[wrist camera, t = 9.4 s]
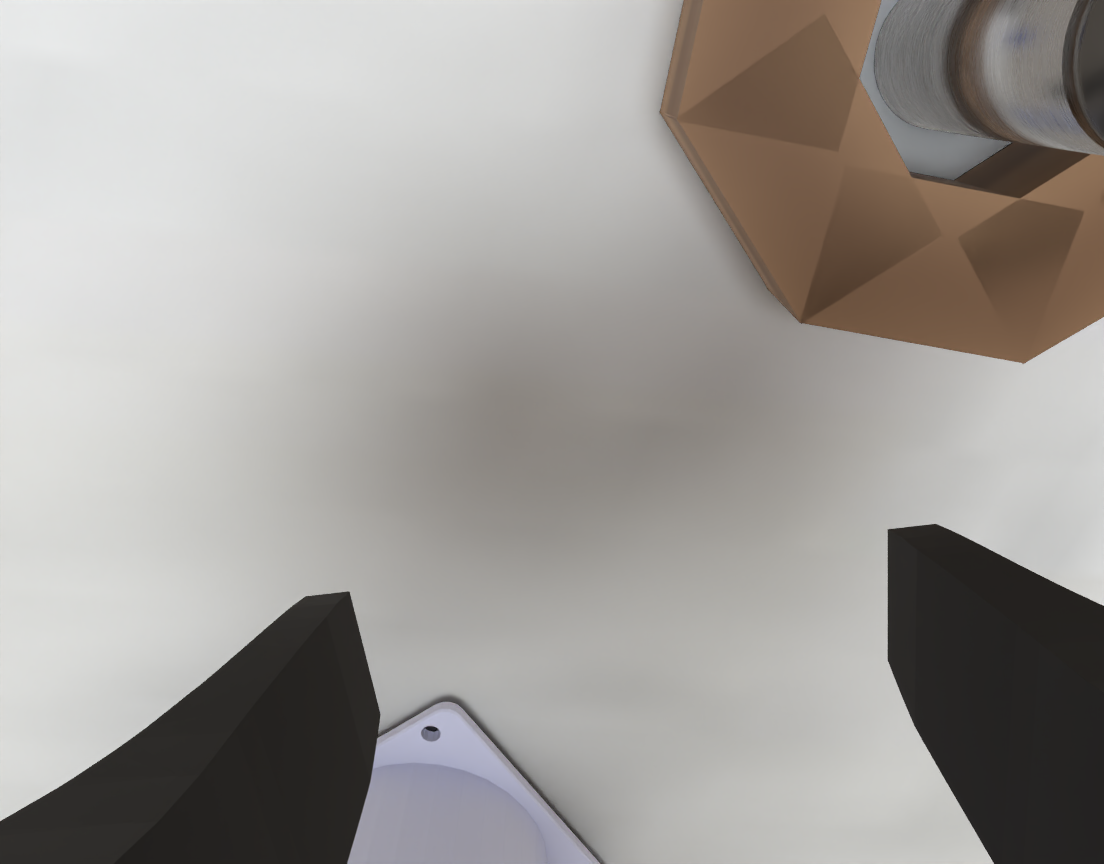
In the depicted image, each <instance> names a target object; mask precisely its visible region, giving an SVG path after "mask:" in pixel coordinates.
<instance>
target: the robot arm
mask: <svg viewBox="0 0 1104 864" xmlns="http://www.w3.org/2000/svg"><path fill="white" fill-rule="evenodd" d="M888 662H889V664H890V667H891V669H892V672H893V675H894V677H895V680H896V682H897V685H898V687H899V690H900V692H901V695H902V697H903V700H904V702H905V704H906V707H907V709H908V711H909V714H910V716H911V719H912V721H913V723H914V726H915V727H916V729H917V731H918V733H919V735H920V736H921V738H922V740H923V742H924V744H925V745H926V747H927V749H928V751H929V752H930V754H931V756H932V758H933V759H934V761H935V763H936V765H937V766H938V768H939V770H940V772H941V773H942V775H943V777H944V778H945V780H946V782H947V784H948V785H949V787H950V789H951V790H952V792H953V794H954V796H955V797H956V799H957V801H958V802H959V804H960V806H961V808H962V809H963V811H964V813H965V814H966V816H967V818H968V820H969V821H970V823H971V825H972V826H973V828H974V830H975V832H976V833H977V835H978V837H979V838H980V840H981V842H982V844H983V845H984V847H985V849H986V850H987V852H988V854H989V856H990V857H991V859H992V861H993V862H994V864H1104V606H1103V605H1100V604H1098V603H1096V602H1094V601H1092V600H1090V599H1088V598H1085V597H1083V596H1081V595H1079V594H1077V593H1075V592H1073V591H1070V590H1068V589H1066V588H1064V587H1062V586H1060V585H1058V584H1056V583H1054V582H1052V581H1050V580H1048V579H1046V578H1044V577H1042V576H1040V575H1038V574H1036V573H1034V572H1032V571H1030V570H1028V569H1026V568H1024V567H1022V566H1020V565H1018V564H1016V563H1014V562H1012V561H1010V560H1009V559H1007V558H1005V557H1003V556H1001V555H999V554H997V553H995V552H993V551H991V550H989V549H987V548H985V547H983V546H981V545H979V544H977V543H975V542H973V541H971V540H969V539H967V538H965V537H963V536H961V535H959V534H957V533H955V532H953V531H951V530H949V529H946V528H944V527H942V526H939V525H937V524H931V525H922V526H914V527H905V528H896V529H888ZM379 721H380V711H379V707H378V703H377V699H376V695H375V691H374V687H373V683H372V679H371V675H370V671H369V667H368V663H367V659H366V655H365V651H364V648H363V644H362V640H361V636H360V632H359V628H358V624H357V620H356V616H355V612H354V608H353V604H352V600H351V596H350V592H341V593H332V594H323V595H315V596H306V597H304V598H303V599H302V600H300V601H299V602H297V603H296V604H295V605H293V606H292V607H291V608H290V609H288V610H287V611H286V612H285V613H284V614H282V615H281V616H280V617H279V618H278V619H276V620H275V621H274V622H273V623H272V624H271V625H269V626H268V627H267V628H266V629H265V630H264V631H263V632H261V633H260V634H259V635H258V636H257V637H256V638H255V639H253V640H252V641H251V642H250V643H249V644H248V645H247V646H245V647H244V648H243V649H242V650H241V651H240V652H238V653H237V654H236V655H235V656H234V657H233V658H231V659H230V660H229V661H228V662H227V663H226V664H225V665H223V666H222V667H221V668H220V669H219V670H218V671H216V672H215V673H214V674H213V675H212V676H211V677H209V678H208V679H207V680H206V681H205V682H203V683H202V684H201V685H200V686H198V687H197V688H196V689H195V690H193V691H192V692H191V693H190V694H188V695H187V696H186V697H185V698H183V699H182V700H181V701H179V702H178V703H177V704H176V705H174V706H173V707H172V708H171V709H169V710H168V711H167V712H166V713H164V714H163V715H162V716H161V717H159V718H158V719H157V720H156V721H154V722H153V723H152V724H150V725H149V726H148V727H147V728H145V729H144V730H143V731H141V732H140V733H139V734H137V735H136V736H134V737H133V738H132V739H130V740H129V741H128V742H126V743H125V744H123V745H122V746H120V747H119V748H118V749H116V750H115V751H113V752H112V753H111V754H109V755H108V756H106V757H104V758H103V759H101V760H100V761H98V762H97V763H95V764H94V765H92V766H91V767H89V768H88V769H86V770H85V771H83V772H82V773H80V774H79V775H77V776H76V777H74V778H73V779H71V780H70V781H68V782H67V783H65V784H63V785H62V786H60V787H59V788H57V789H55V790H54V791H52V792H50V793H48V794H47V795H45V796H43V797H41V798H40V799H38V800H36V801H35V802H33V803H31V804H29V805H28V806H26V807H24V808H22V809H21V810H19V811H17V812H16V813H14V814H12V815H10V816H9V817H7V818H5V819H3V820H2V821H0V864H600V863H599V862H598V861H597V859H596V858H595V857H594V856H593V855H592V854H591V853H590V852H589V850H588V849H587V848H586V847H585V846H584V845H583V844H582V843H581V841H580V840H579V839H578V838H577V837H576V836H575V835H574V834H573V832H572V831H571V830H570V829H569V828H568V827H567V826H566V825H565V823H564V822H563V821H562V820H561V819H560V818H559V817H558V816H557V814H556V813H555V812H554V811H553V810H552V809H551V808H550V807H549V805H548V804H547V803H546V802H545V801H544V800H543V799H542V798H541V796H540V795H539V794H538V793H537V792H536V791H535V790H534V789H533V787H532V786H531V785H530V784H529V783H528V782H527V781H526V780H525V778H524V777H523V776H522V775H521V774H520V773H519V772H518V771H517V769H516V768H515V767H514V766H513V765H512V764H511V763H510V762H509V760H508V759H507V758H506V757H505V756H504V755H503V754H502V753H501V752H500V750H499V749H498V748H497V747H496V746H495V745H494V744H493V743H492V741H491V740H490V739H489V738H488V737H487V736H486V735H485V734H484V732H483V731H482V730H481V729H480V728H479V727H478V726H477V725H476V723H475V722H474V721H473V720H472V719H471V718H470V717H469V716H468V714H467V713H466V712H465V711H464V710H463V709H462V708H461V707H460V706H458V705H457V704H455V703H452V702H441V703H438V704H435V705H434V706H432V707H430V708H428V709H427V710H425V711H423V712H422V713H420V714H418V715H416V716H415V717H413V718H411V719H410V720H408V721H406V722H404V723H403V724H401V725H399V726H398V727H396V728H394V729H392V730H391V731H389V732H387V733H386V734H384V735H382V736H380V737H379V738H377V736H378V728H379ZM427 726H435V727H436V728H438V729H439V731H435V732H432V731H428V730H427V729H425V728H424V727H427Z"/></svg>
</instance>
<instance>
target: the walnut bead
mask: <svg viewBox="0 0 1104 864" xmlns="http://www.w3.org/2000/svg"><path fill="white" fill-rule="evenodd" d="M880 4H881V0H684V2H683V6H682V11H681V16H680V20H679V25H678V30H677V34H676V39H675V44H674V49H673V53H672V58H671V63H670V67H669V72H668V77H667V82H666V86H665V91H664V96H663V100H662V105H661V110H660V111H659V112H660V114H661V115H662V117H663V118H664V120H665V122H666V123H667V125H668V127H669V128H670V130H671V131H672V133H673V135H674V136H675V138H676V140H677V141H678V143H679V144H680V146H681V148H682V149H683V151H684V153H685V154H686V156H687V157H688V159H689V161H690V162H691V164H692V166H693V167H694V169H695V171H696V172H697V174H698V175H699V177H700V179H701V180H702V182H703V184H704V185H705V187H706V188H707V190H708V192H709V193H710V195H711V197H712V198H713V200H714V202H715V203H716V205H717V206H718V208H719V210H720V211H721V213H722V215H723V216H724V218H725V219H726V221H727V223H728V224H729V226H730V228H731V229H732V231H733V232H734V234H735V236H736V237H737V239H738V241H739V242H740V244H741V246H742V247H743V249H744V250H745V252H746V254H747V255H748V257H749V259H750V260H751V262H752V263H753V265H754V267H755V268H756V270H757V272H758V273H759V275H760V276H761V278H762V280H763V281H764V283H765V285H766V286H767V289H768V290H769V291H770V292H771V293H772V294H773V295H774V296H775V297H776V298H777V299H778V300H779V301H780V302H781V303H782V304H783V306H784V307H785V308H786V309H787V310H788V311H789V312H790V313H791V314H792V315H793V316H794V317H795V318H796V319H797V320H798V321H799V322H800V323H801V324H802V323H805V324H811V325H816V326H822V327H827V328H833V329H838V330H844V331H849V332H855V333H860V334H866V335H871V336H877V337H882V338H888V339H894V340H899V341H905V342H910V343H916V344H921V345H927V346H932V347H938V348H943V349H949V350H954V351H960V352H965V353H971V354H976V355H982V356H987V357H993V358H998V359H1004V360H1009V361H1015V362H1021V363H1023V364H1024V363H1026V362H1027V361H1029V360H1030V359H1032V358H1034V357H1036V356H1037V355H1039V354H1041V353H1042V352H1044V351H1046V350H1048V349H1049V348H1051V347H1053V346H1055V345H1056V344H1058V343H1060V342H1061V341H1063V340H1065V339H1067V338H1068V337H1070V336H1072V335H1073V334H1075V333H1077V332H1079V331H1080V330H1082V329H1084V328H1085V327H1087V326H1089V325H1091V324H1092V323H1094V322H1096V321H1097V320H1099V319H1101V318H1103V317H1104V156H1102V155H1095V154H1089V153H1082V152H1075V151H1069V150H1062V149H1056V148H1049V147H1042V146H1036V145H1029V144H1023V143H1016V142H1013V143H1012V144H1010V145H1009V146H1007V147H1006V148H1004V149H1002V150H1001V151H999V152H998V153H996V154H995V155H993V156H992V157H990V158H988V159H987V160H985V161H984V162H982V163H981V164H979V165H977V166H976V167H974V168H973V169H971V170H970V171H968V172H967V173H965V174H963V175H962V176H960V177H959V178H957V179H956V180H949V179H944V178H938V177H933V176H928V175H923V174H918V173H912V172H909V171H908V169H907V167H906V166H905V164H904V162H903V160H902V158H901V156H900V154H899V152H898V150H897V149H896V147H895V145H894V143H893V141H892V139H891V137H890V135H889V134H888V132H887V130H886V128H885V126H884V124H883V122H882V120H881V118H880V117H879V115H878V113H877V111H876V109H875V107H874V105H873V103H872V101H871V100H870V98H869V96H868V94H867V92H866V90H865V88H864V86H863V85H862V83H861V81H860V79H859V77H860V74H861V70H862V67H863V63H864V60H865V56H866V53H867V49H868V46H869V42H870V39H871V35H872V32H873V28H874V25H875V21H876V18H877V14H878V11H879V7H880Z"/></svg>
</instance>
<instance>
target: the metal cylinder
mask: <svg viewBox="0 0 1104 864" xmlns="http://www.w3.org/2000/svg"><path fill="white" fill-rule="evenodd" d="M874 66H875V76H876V81H877V85H878V88H879V91H880V93H881V95H882V97H883V99H884V101H885V102H886V104H887V105H888V107H889V108H890V109H891V110H892V111H893V112H894V113H895V114H896V115H897V116H898V117H900V118H901V119H902V120H904V121H906V122H907V123H909V124H912V125H914V126H916V127H920V128H924V129H930V130H937V131H943V132H950V133H956V134H963V135H970V136H976V137H983V138H989V139H996V140H1003V141H1009V142H1016V143H1023V144H1029V145H1036V146H1042V147H1049V148H1056V149H1062V150H1069V151H1075V152H1082V153H1089V154H1095V155H1102V156H1104V0H899V1H898V2H897V4H896V5H895V6H894V8H893V9H892V10H891V12H890V13H889V15H888V17H887V18H886V20H885V22H884V24H883V26H882V28H881V31H880V34H879V37H878V40H877V45H876V49H875V59H874Z"/></svg>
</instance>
